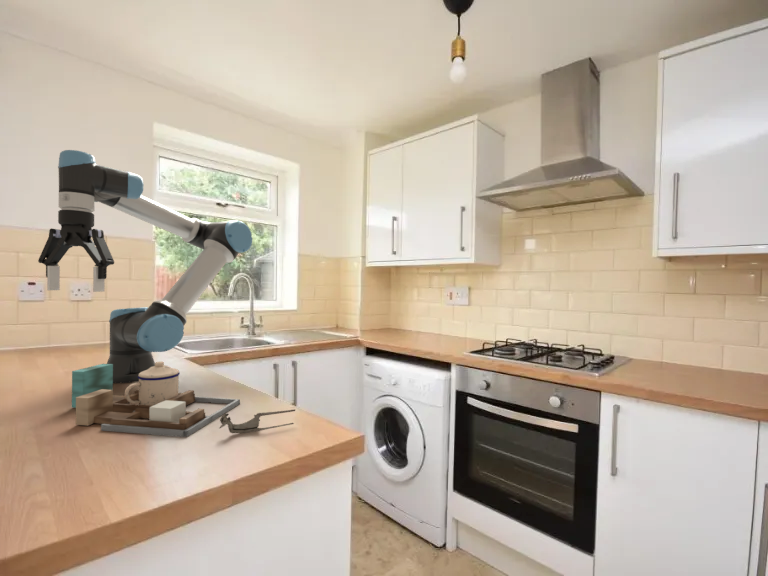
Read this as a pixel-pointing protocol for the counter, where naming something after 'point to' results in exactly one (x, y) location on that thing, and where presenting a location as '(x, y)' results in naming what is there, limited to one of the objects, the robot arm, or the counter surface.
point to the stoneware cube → (167, 411)
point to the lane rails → (175, 432)
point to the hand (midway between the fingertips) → (76, 291)
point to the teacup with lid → (155, 385)
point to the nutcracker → (249, 423)
